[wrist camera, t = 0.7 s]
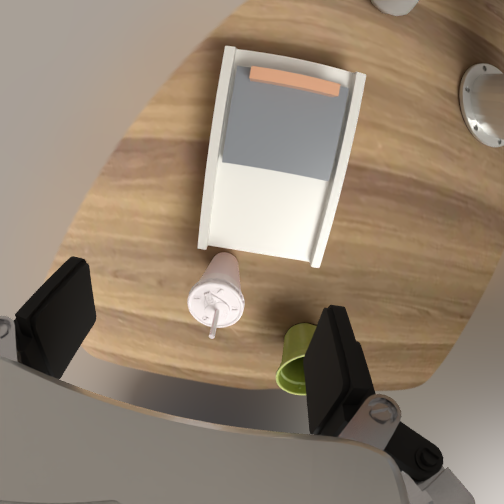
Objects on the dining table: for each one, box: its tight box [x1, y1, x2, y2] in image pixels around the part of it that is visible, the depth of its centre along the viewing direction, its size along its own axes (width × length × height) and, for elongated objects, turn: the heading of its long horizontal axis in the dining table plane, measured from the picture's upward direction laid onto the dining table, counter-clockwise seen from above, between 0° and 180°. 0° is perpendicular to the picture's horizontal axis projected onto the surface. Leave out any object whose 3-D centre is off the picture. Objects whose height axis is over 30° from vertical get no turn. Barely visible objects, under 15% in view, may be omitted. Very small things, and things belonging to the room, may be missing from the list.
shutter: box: [222, 66, 349, 181], centre depth 26 cm, size 10×11×4 cm
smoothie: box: [188, 252, 244, 339], centre depth 35 cm, size 6×6×14 cm
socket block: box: [198, 46, 366, 268], centre depth 32 cm, size 22×14×6 cm, turn 171°
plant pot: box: [276, 323, 317, 395], centre depth 43 cm, size 9×9×9 cm
